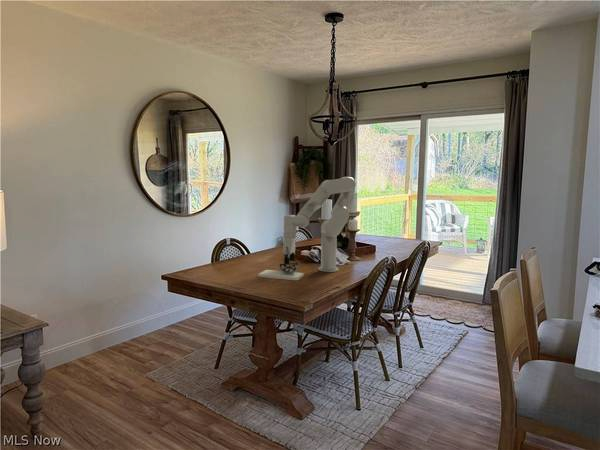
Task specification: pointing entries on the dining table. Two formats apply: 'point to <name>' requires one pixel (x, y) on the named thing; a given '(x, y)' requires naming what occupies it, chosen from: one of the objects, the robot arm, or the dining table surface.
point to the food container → (289, 267)
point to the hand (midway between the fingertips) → (289, 262)
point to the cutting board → (280, 275)
